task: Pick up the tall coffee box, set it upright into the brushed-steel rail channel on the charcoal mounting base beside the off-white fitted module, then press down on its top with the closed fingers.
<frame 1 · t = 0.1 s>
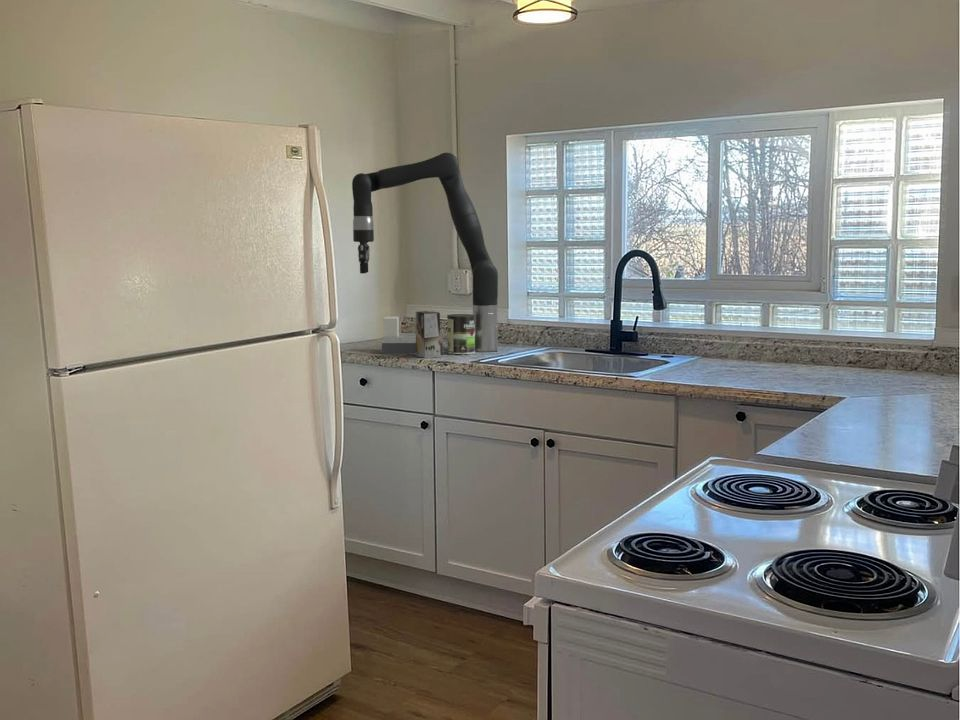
hand: (364, 273, 336), 29 cm above the worktop, fingers open, 8 cm apart
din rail: (412, 337, 338), on the rail base, point 5 cm above the worktop
coffee box: (428, 357, 325), on the worktop
coffee can: (461, 353, 334), on the worktop
fitted module: (391, 328, 337), point 9 cm above the worktop
rail base: (413, 351, 338), on the worktop
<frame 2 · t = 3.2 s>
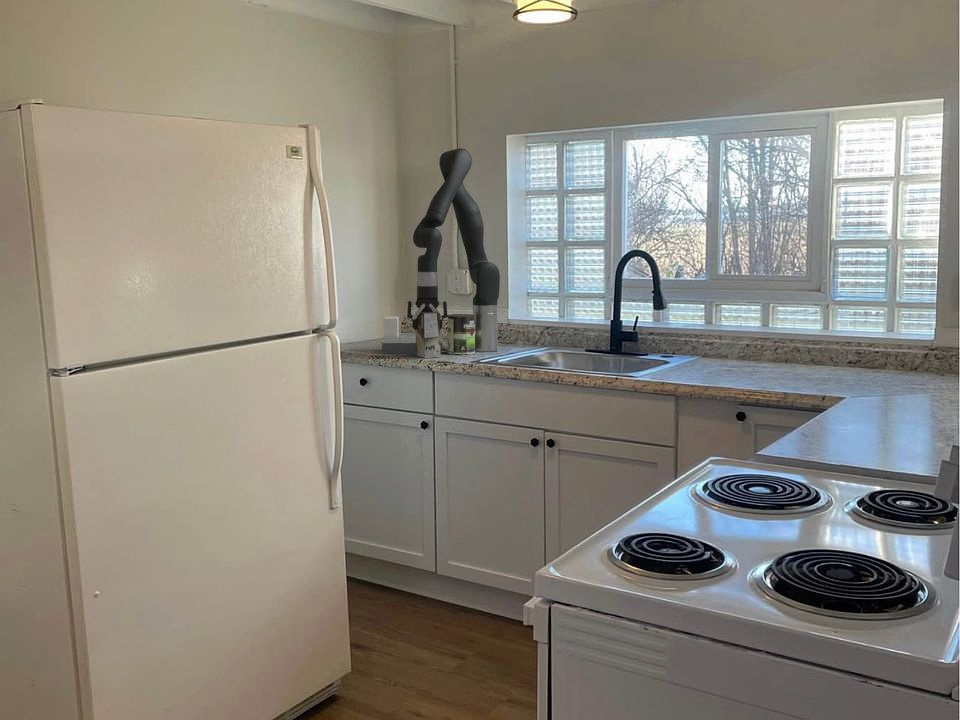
hand: (427, 330, 324), 9 cm above the worktop, fingers open, 8 cm apart
nothing on the worktop moved.
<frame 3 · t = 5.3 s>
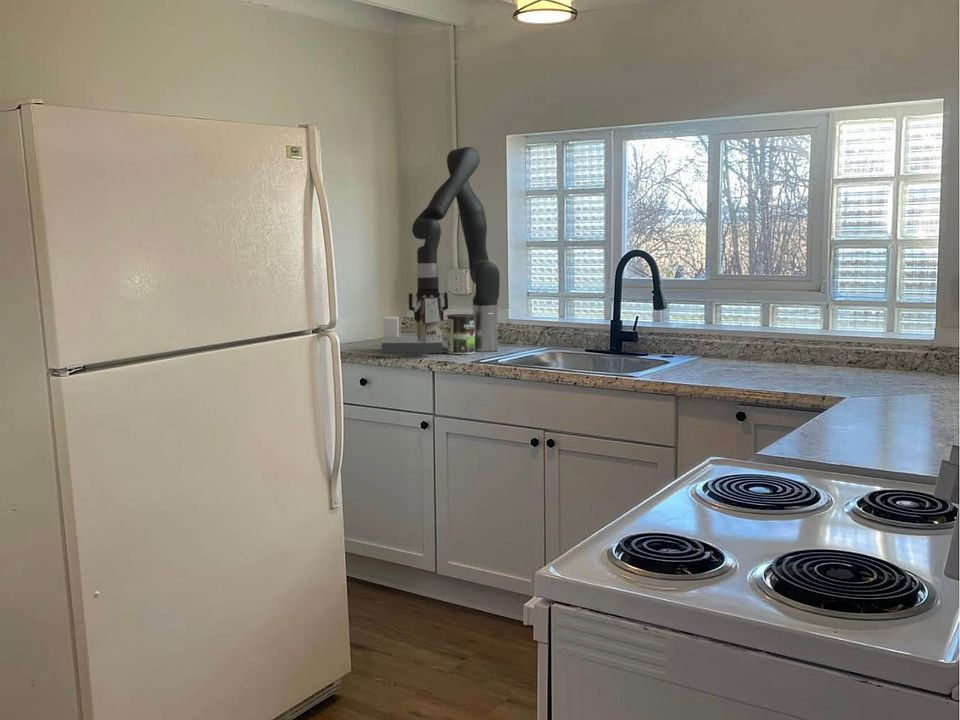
hand: (428, 321, 323), 12 cm above the worktop, fingers closed on coffee box, 8 cm apart
coffee box: (429, 342, 324), point 5 cm above the worktop, touching gripper
everything else where it was.
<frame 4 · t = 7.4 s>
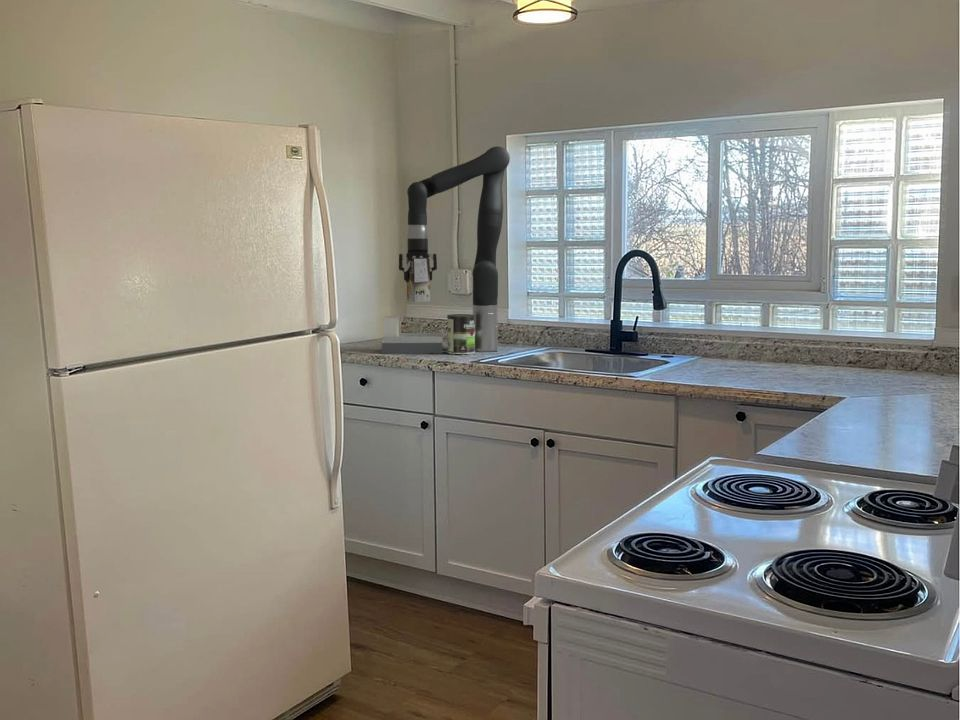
hand: (418, 282, 334), 26 cm above the worktop, fingers closed on coffee box, 8 cm apart
coffee box: (418, 301, 335), point 19 cm above the worktop, touching gripper
everything else where it was.
when the fingers open (13 cm above the worktop, at t = 10.8 s): coffee box stays where it is, resting on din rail.
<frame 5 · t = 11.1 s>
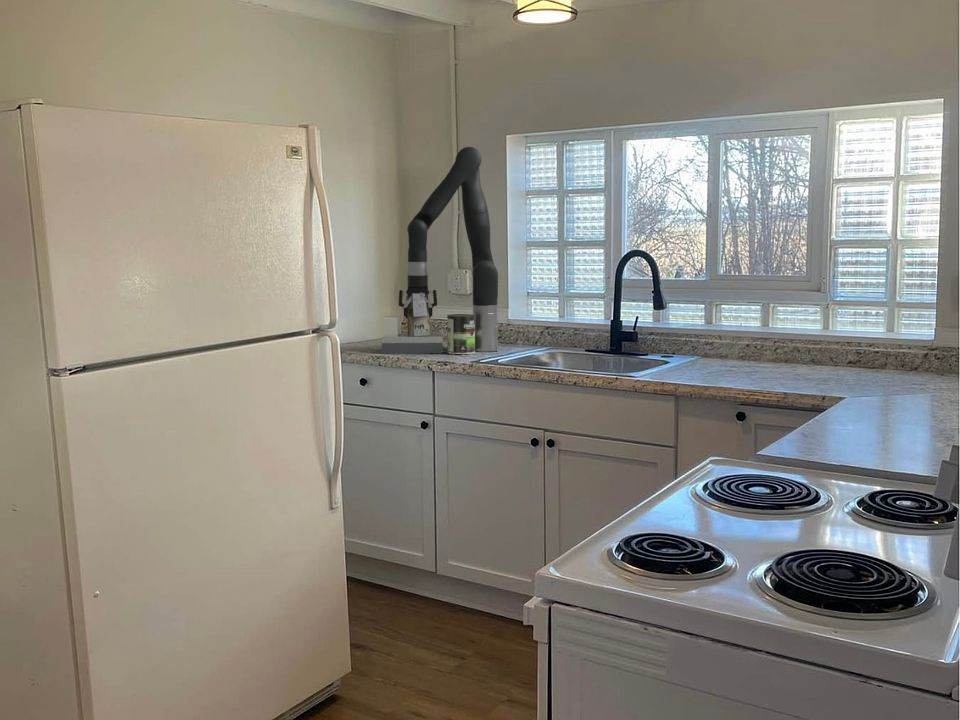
hand: (418, 317, 337), 13 cm above the worktop, fingers open, 8 cm apart
coffee box: (418, 337, 338), point 5 cm above the worktop, touching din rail
everything else where it was.
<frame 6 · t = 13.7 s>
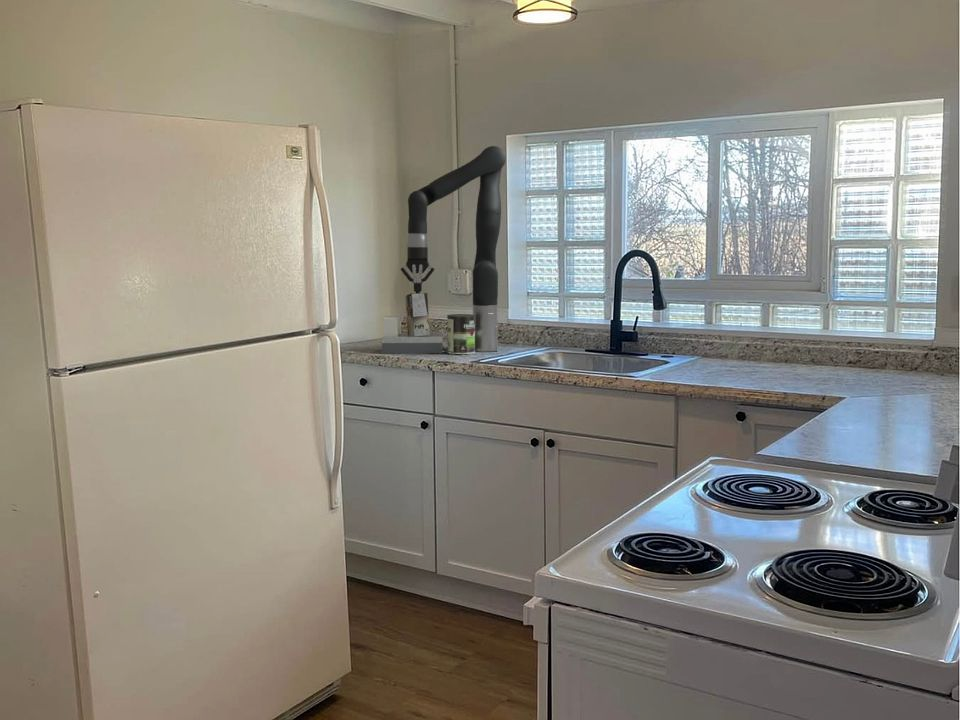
hand: (417, 293, 336), 22 cm above the worktop, fingers closed
coffee box: (418, 337, 338), point 5 cm above the worktop, touching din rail, gripper
everything else where it was.
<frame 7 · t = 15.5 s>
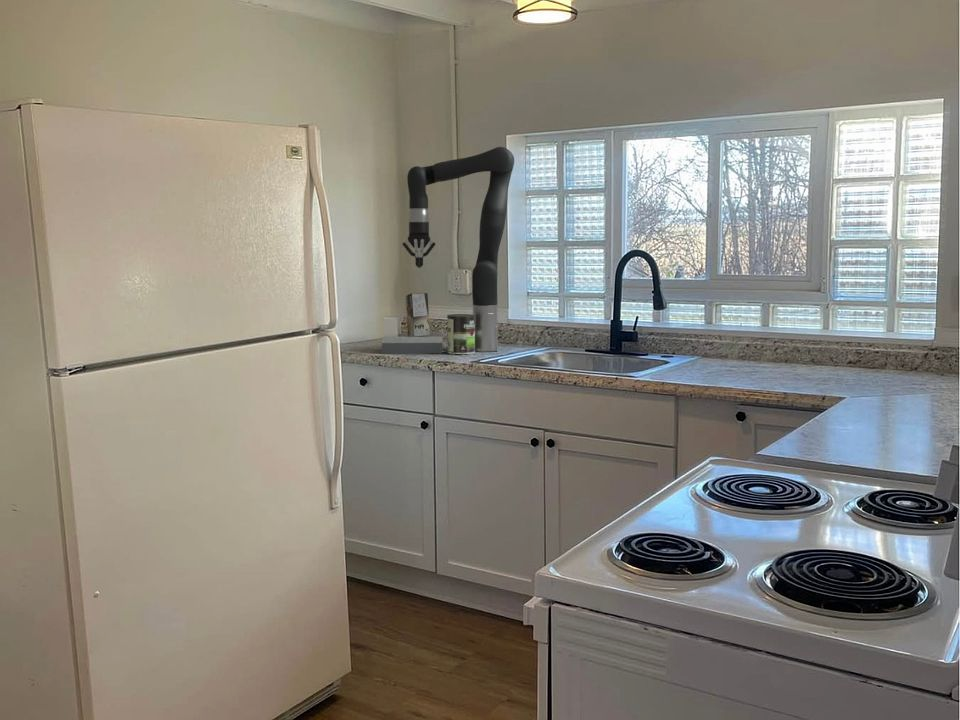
hand: (419, 267, 342), 31 cm above the worktop, fingers closed
coffee box: (418, 337, 338), point 5 cm above the worktop, touching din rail
everything else where it was.
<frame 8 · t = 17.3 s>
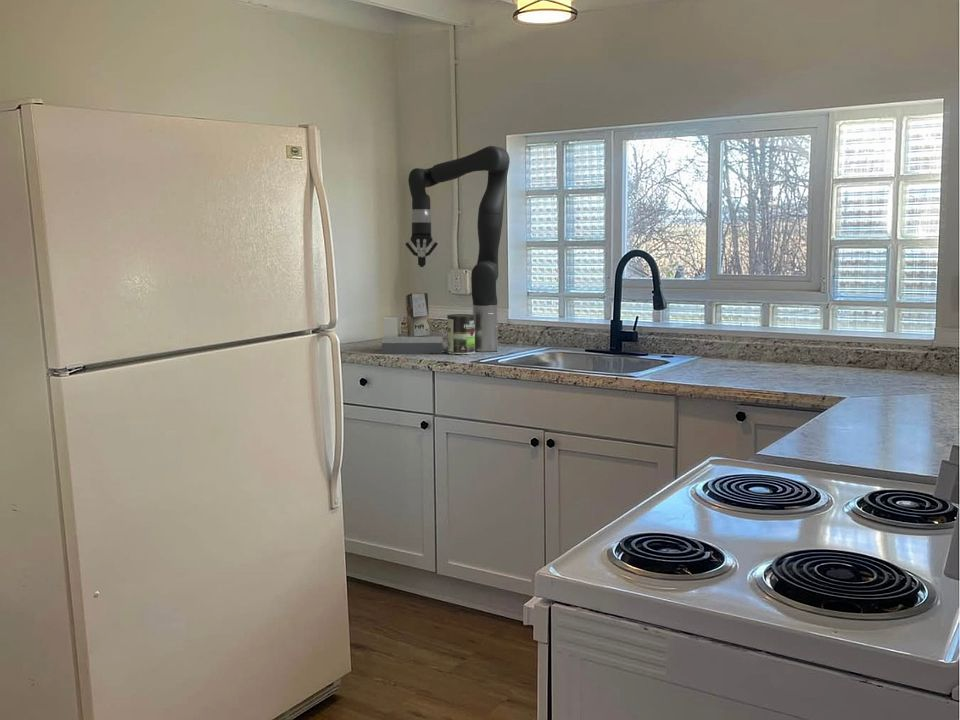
hand: (421, 266, 350), 31 cm above the worktop, fingers closed
nothing on the worktop moved.
at the end: coffee box 0.3 cm from the target spot on the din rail, point 5.3 cm above the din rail's base; coffee box tilted 9°; the gripper is holding nothing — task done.
